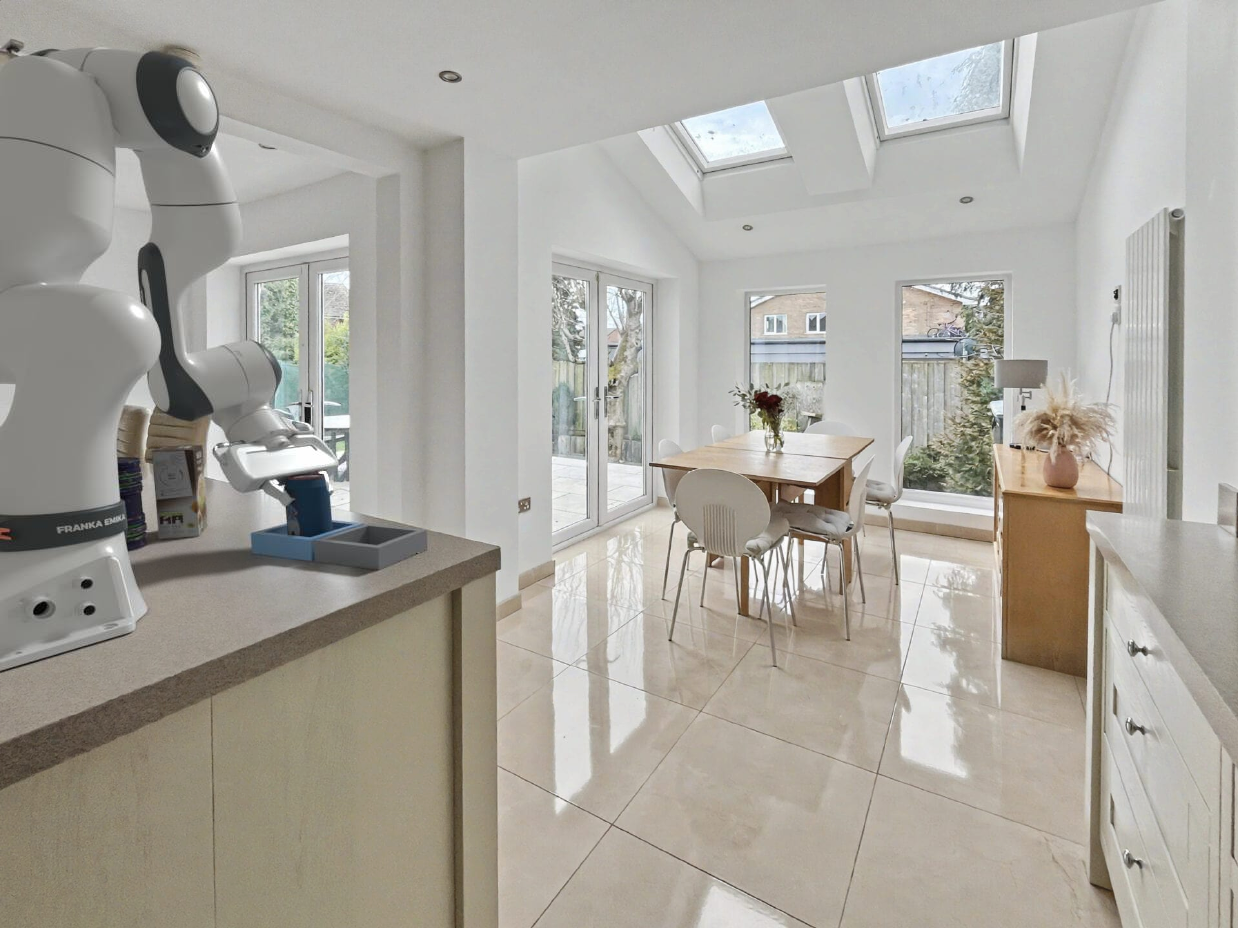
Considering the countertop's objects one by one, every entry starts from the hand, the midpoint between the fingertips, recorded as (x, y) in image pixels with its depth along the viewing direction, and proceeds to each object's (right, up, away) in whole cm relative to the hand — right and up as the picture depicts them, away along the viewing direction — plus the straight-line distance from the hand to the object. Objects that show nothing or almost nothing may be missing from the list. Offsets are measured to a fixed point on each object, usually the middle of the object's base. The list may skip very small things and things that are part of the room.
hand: (310, 499), depth 107 cm
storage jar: (-33, -9, 0) cm, 34 cm away
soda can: (0, -8, +1) cm, 8 cm away
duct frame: (+6, -9, -1) cm, 11 cm away
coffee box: (-29, -7, +11) cm, 31 cm away
